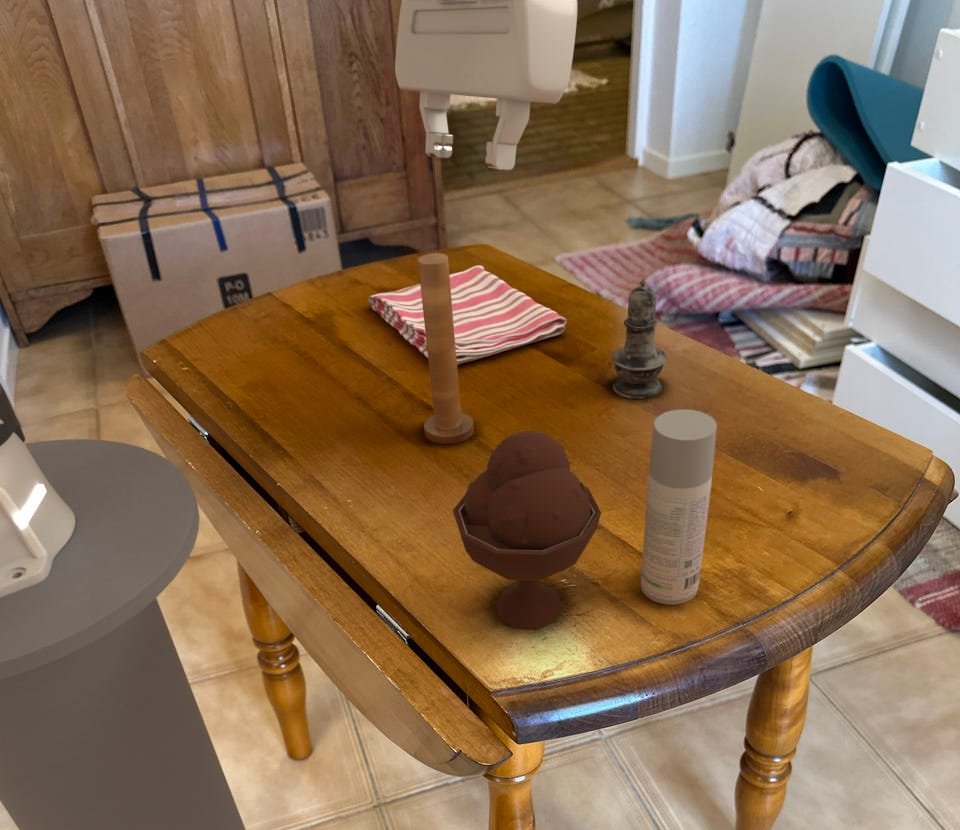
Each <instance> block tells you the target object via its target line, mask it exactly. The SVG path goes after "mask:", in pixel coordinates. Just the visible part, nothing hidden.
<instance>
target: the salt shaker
mask: <svg viewBox="0 0 960 830" xmlns="http://www.w3.org/2000/svg"><path fill="white" fill-rule="evenodd" d="M640 280H641V281H640V282H639V284H640V285H639V286H636V287H634V288H633V289H632V290H631V291H630V292H629V293H628V300H627V301H628V303H627V309H628V310H627V318H626V319H624V321H623V325H624V327H625V328H626V333H625V341H624V345H623V346H622V347H620V348H617V349H616V350H615V351H614V352H612V355H611V362H612V363H613V364H614V367H613V368H614V370H615V372H616V375H617V376H618V377H619V378H618V379H617V380H616V381H615V382H614V383H613V386H612V389H613V391H614V393H615V394H616V395H618V396H620V397H622V398H624V399H625V398H626V399H629V400H630V399H632V400H645V399H650V398H653V397H656V396H657V395H659V394H660V393H661V391H662V389H663V386H662V383H661V382H660V381H659V380H657V378H658V377H659V376H660V374H661V372H662V371H663V368H664V365H665V363H666V362H667V360H668V357H667V353H666V352H664V351H663V350H662V349H660V348H658V347H656V344H655V335H656V334H655V333H656V328H657V327H658V326H659V321H658V319H657V318H656V309H657V308H656V306H657V294H656V292H655V290H654V289H653V288H651V287H649V286H647V285H646V284H647V283H648V282H647V281H646V280H645V278H642V279H640Z"/></svg>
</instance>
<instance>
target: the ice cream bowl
mask: <svg viewBox="0 0 960 830" xmlns="http://www.w3.org/2000/svg"><path fill="white" fill-rule="evenodd" d="M570 466H571V464H570V460H569V459H568V456H567V453H566V451H565V448H564V445H563V444H561V443H560V442H559V443H558V441H557V440H556V439H555V438H554V437H552V436H550V435H548V434H546V433H544V432H543V431H535V430H524V431H519V432H516V433H512V434H511V435H509V436H508V437H507V436H506V437H505V438H504V439H503V440H502V441H500V443H498V444H497V445H496V447H495V448H494V450H493V451H492V453H491V454H490V456H489V459H488V461H487V464H486V469H485V470H483V471H482V472H481V473H479V475H478V476H477V477H475V479H474V480H473V481H471V482H470V483H469V484H468V487H467V490H466V492H465V494H464V496H463V497H462V498H461V499H460V500H459V501H458V503H457V504H456V505H455V506H454V508H453V509H452V512H453V517H454V519H455V522H456V525H457V529H458V532H459V534H460V538H461V540H462V545H463V546H464V550H465V552H466V554H468V556H469V557H470V559H471V560H472V562H474V563H476V564H478V565H479V566H481V567H483V568H484V569H486V570H489V571H490V572H492V573H495V574H496V575H498V576H500V577H502V578H504V579H506V580H508V581H517V584H515V585H513V586H510V587H508V588H505V589H504V591H502V594H501V595H500V596H499V598H497V599H498V600H496V604H495V610H496V613H497V615H498V618H499V621H502V622H503V623H505V624H506V625H509V626H511V627H512V628H514V629H517V630H519V629H520V630H539V629H541V628H544V627H546V626H548V625H552V624H553V623H556V622H557V621H558V619H559V617H560V615H562V614H561V613H562V612H563V610H564V605H563V603H562V600H561V599H560V596H559V594H558V591H557V590H556V589H554V588H552V587H550V586H547V585H546V584H544V583H542V582H541V583H540V581H542V580H544V579H547V578H549V577H552V576H554V575H557V574H559V573H561V572H564V571H565V570H567V569H569V568H571V567H573V566H574V565H576V564H577V563H578V561H579V560H580V558H581V556H582V554H583V552H584V551H585V549H586V548H587V546H588V544H589V543H590V541H591V539H592V538H593V536H594V534H595V533H596V531H597V529H598V526H599V522H600V519H601V516H602V515H601V514H602V511H601V509H600V507H599V505H598V504H597V502H596V500H595V498H594V496H593V494H592V492H591V490H590V488H589V487H587V486H586V485H584V483H583V482H581V480H580V479H579V478H578V476H577V475H576V474H575V473H574V472H573V471H572V470H571V467H570Z"/></svg>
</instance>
